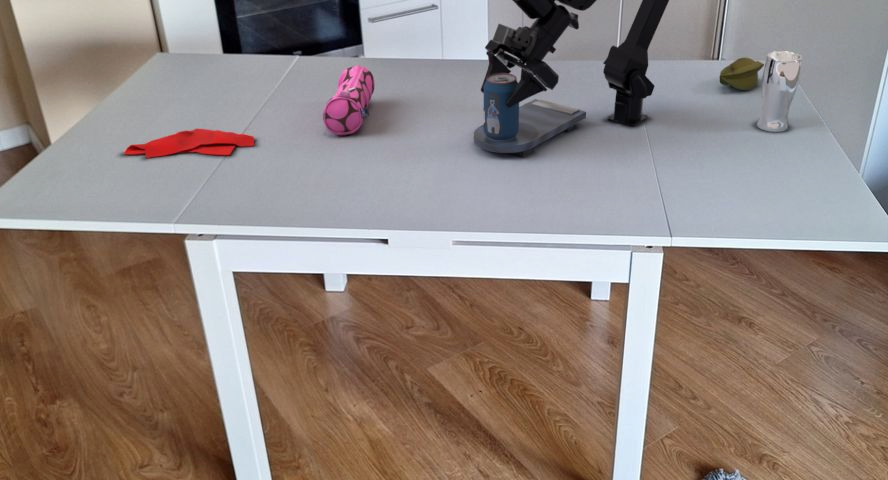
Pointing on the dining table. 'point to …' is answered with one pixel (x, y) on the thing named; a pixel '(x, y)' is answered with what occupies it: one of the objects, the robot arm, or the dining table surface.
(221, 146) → the cloth
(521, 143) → the grey kitchen scale
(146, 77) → the dining table surface
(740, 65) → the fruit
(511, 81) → the soda can
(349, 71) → the pencil case
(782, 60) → the beer glass
